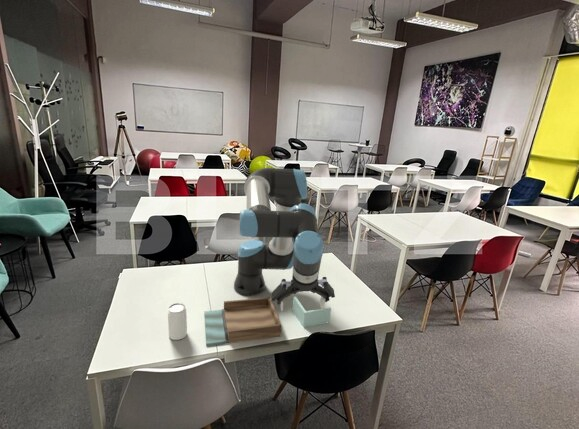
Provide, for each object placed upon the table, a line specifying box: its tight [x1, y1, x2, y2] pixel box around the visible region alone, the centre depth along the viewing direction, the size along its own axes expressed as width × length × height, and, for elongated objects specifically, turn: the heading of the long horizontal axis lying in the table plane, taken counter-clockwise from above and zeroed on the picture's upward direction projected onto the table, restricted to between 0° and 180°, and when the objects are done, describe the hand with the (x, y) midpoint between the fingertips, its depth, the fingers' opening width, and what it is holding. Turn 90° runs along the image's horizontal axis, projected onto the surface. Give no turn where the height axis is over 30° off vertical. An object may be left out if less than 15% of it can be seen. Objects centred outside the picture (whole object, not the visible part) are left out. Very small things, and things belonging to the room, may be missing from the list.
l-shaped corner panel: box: [291, 296, 332, 328], centre depth 137 cm, size 12×12×8 cm
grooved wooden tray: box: [204, 296, 282, 347], centre depth 129 cm, size 20×28×5 cm
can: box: [167, 302, 188, 341], centre depth 119 cm, size 6×6×12 cm
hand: (301, 305), depth 108 cm, fingers open, 13 cm apart
